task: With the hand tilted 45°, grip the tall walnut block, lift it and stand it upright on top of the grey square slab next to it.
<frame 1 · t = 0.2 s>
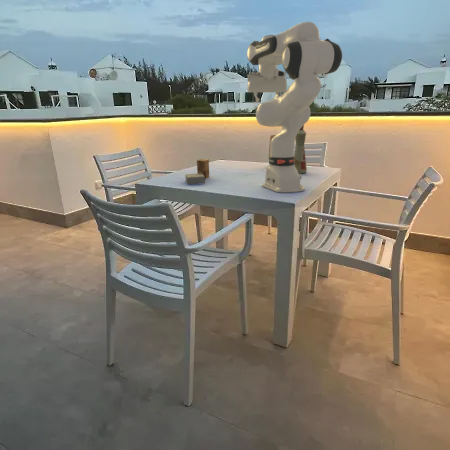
hand: (266, 101, 172), 39 cm above the table, tool pointing down, fingers open, 8 cm apart
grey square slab: (195, 182, 174), on the table
bottle: (298, 173, 193), on the table
walnut block: (203, 177, 185), on the table
block: (277, 166, 215), on the table
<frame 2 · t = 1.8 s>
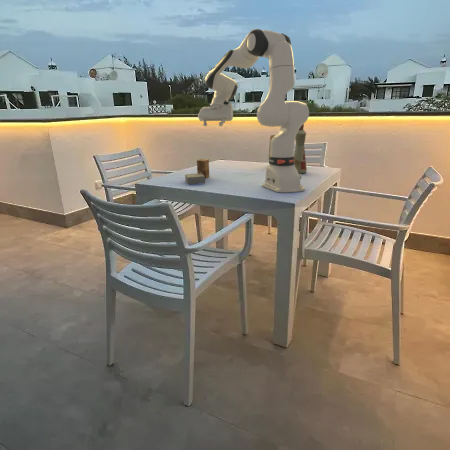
hand: (212, 125, 186), 27 cm above the table, tool tilted 45°, fingers open, 8 cm apart
nothing on the table moved.
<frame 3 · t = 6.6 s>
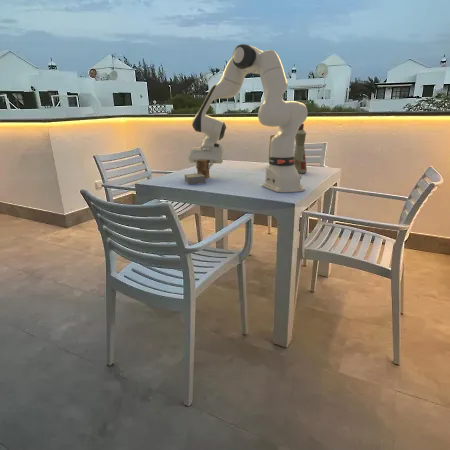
hand: (202, 168, 182), 5 cm above the table, tool tilted 45°, fingers closed on walnut block, 5 cm apart
walnut block: (203, 177, 184), on the table, touching gripper
everything else where it was.
when the fingers open (11 cm above the table, at t = 11.9 s): walnut block drops 2 cm, resting on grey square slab.
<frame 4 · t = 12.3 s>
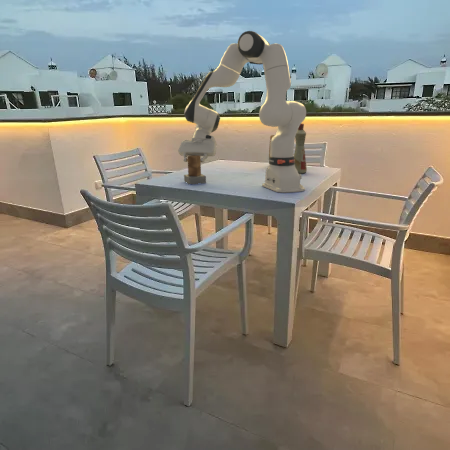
hand: (193, 161, 170), 11 cm above the table, tool tilted 45°, fingers open, 8 cm apart
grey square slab: (195, 182, 174), on the table, touching walnut block
walnut block: (194, 175, 173), point 4 cm above the table, touching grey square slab
everything else where it was.
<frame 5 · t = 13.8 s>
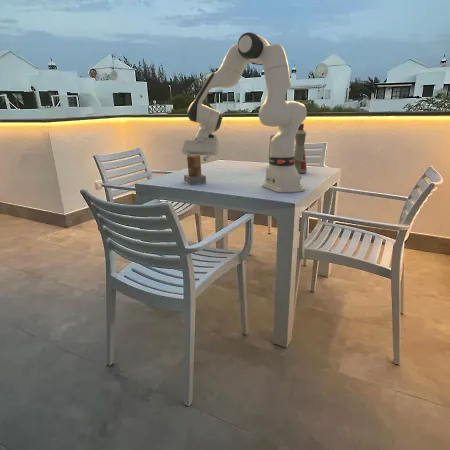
hand: (196, 160, 173), 11 cm above the table, tool tilted 45°, fingers open, 8 cm apart
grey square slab: (195, 182, 174), on the table
walnut block: (195, 175, 173), point 4 cm above the table
everything else where it was.
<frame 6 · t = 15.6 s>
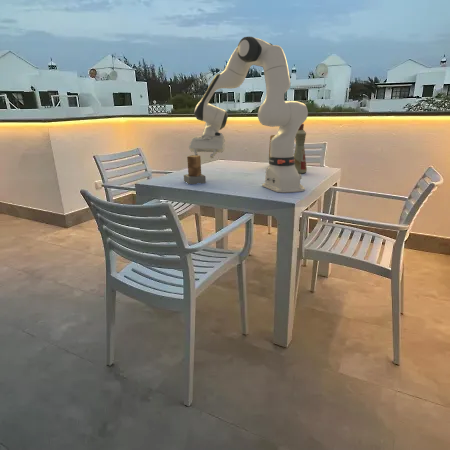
hand: (203, 157, 182), 11 cm above the table, tool tilted 45°, fingers open, 8 cm apart
nothing on the table moved.
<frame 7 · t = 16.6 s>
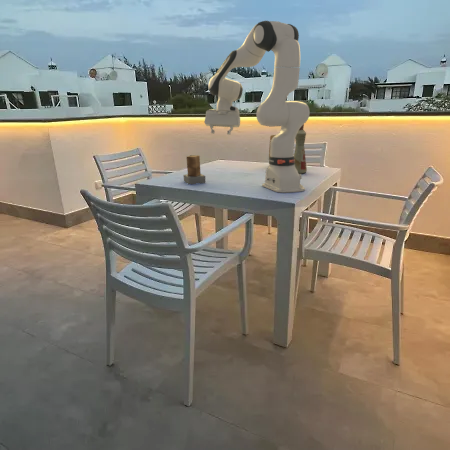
hand: (220, 133, 185), 23 cm above the table, tool tilted 25°, fingers open, 8 cm apart
nothing on the table moved.
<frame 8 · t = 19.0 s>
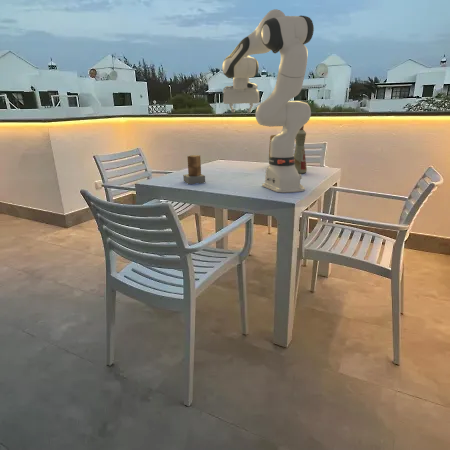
hand: (241, 112, 185), 34 cm above the table, tool pointing down, fingers open, 8 cm apart
at the end: walnut block 0.4 cm off-centre on the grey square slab, point 4.1 cm above the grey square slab's base; walnut block tilted 1°; the gripper is holding nothing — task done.
